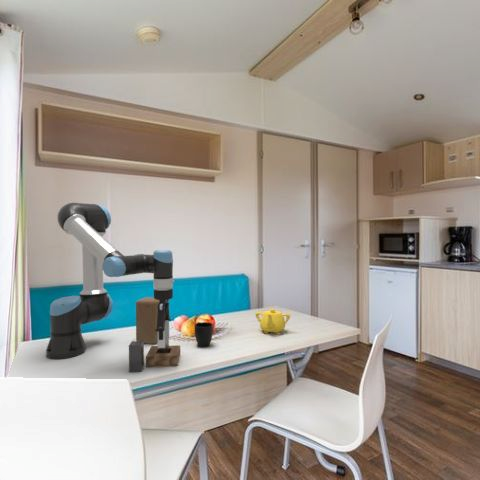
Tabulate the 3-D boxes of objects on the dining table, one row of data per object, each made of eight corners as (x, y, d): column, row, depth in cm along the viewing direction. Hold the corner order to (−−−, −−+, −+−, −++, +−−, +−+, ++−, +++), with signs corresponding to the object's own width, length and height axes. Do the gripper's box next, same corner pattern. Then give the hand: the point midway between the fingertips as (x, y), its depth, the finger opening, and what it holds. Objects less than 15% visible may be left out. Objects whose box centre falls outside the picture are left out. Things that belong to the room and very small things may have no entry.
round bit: (158, 362, 133) (157, 322, 133) (159, 358, 137) (159, 319, 137) (168, 362, 133) (168, 322, 133) (169, 358, 137) (169, 319, 137)
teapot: (252, 331, 176) (252, 308, 176) (274, 326, 183) (274, 305, 183) (269, 337, 164) (269, 313, 164) (291, 333, 172) (291, 310, 172)
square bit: (129, 372, 124) (128, 345, 124) (131, 367, 128) (131, 341, 128) (141, 371, 124) (141, 345, 124) (143, 367, 129) (143, 341, 129)
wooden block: (155, 344, 154) (154, 301, 154) (135, 343, 156) (134, 300, 156) (164, 338, 164) (164, 297, 164) (145, 337, 166) (145, 296, 166)
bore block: (145, 367, 129) (145, 356, 129) (151, 355, 141) (151, 346, 140) (177, 365, 130) (177, 355, 130) (180, 354, 142) (180, 345, 141)
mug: (207, 339, 162) (207, 319, 162) (215, 346, 151) (215, 325, 151) (190, 341, 159) (190, 321, 159) (197, 349, 148) (197, 327, 148)
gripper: (169, 294, 123) (169, 352, 123) (176, 284, 147) (176, 332, 147) (148, 294, 122) (148, 353, 122) (158, 284, 146) (158, 333, 147)
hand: (163, 342), depth 135 cm, fingers open, 12 cm apart
